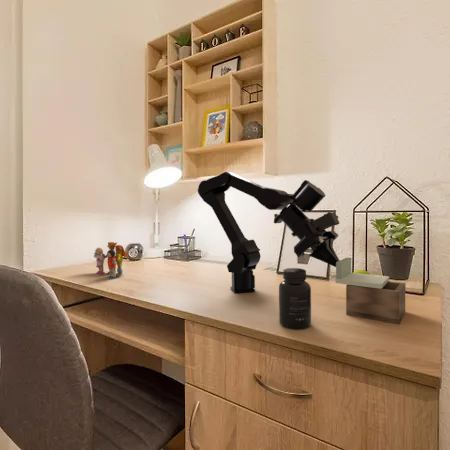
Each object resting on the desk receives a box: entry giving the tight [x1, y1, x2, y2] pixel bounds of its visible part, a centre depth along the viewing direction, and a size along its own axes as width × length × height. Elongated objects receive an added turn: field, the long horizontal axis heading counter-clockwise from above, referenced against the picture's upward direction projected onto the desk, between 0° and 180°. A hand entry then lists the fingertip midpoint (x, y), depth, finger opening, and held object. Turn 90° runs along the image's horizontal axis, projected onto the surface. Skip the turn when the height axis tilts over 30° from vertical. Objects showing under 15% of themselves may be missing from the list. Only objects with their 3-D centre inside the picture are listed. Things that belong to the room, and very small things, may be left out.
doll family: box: [93, 241, 130, 280], centre depth 124 cm, size 21×10×13 cm, turn 42°
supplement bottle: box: [278, 267, 312, 330], centre depth 66 cm, size 7×7×12 cm
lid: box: [335, 257, 390, 289], centre depth 74 cm, size 10×10×5 cm
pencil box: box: [345, 280, 406, 325], centre depth 72 cm, size 11×10×7 cm
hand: (340, 267), depth 77 cm, fingers closed, pressing on lid
